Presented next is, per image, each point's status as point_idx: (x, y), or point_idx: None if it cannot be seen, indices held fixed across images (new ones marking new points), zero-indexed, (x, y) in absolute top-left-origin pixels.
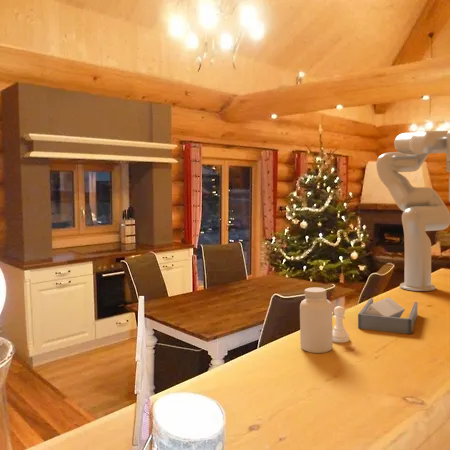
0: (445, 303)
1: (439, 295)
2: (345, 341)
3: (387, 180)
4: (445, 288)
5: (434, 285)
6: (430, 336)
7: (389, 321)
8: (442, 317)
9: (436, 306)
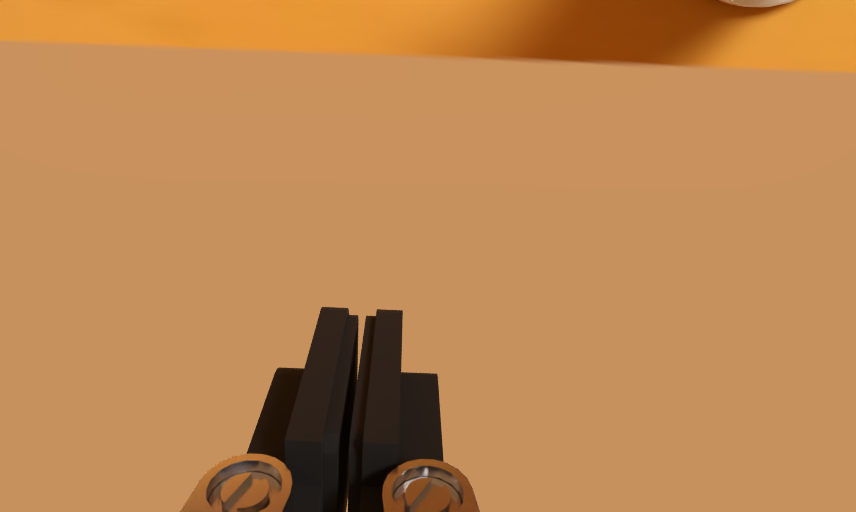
0: (383, 54)
1: (574, 27)
2: None
3: None
4: (773, 69)
5: (775, 1)
6: None
7: None
8: (76, 28)
9: (296, 3)
